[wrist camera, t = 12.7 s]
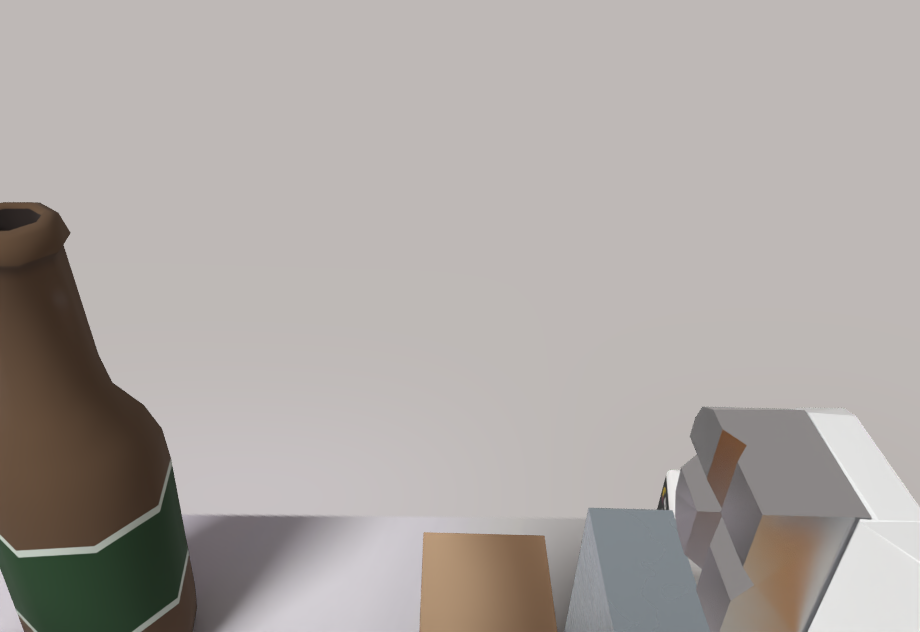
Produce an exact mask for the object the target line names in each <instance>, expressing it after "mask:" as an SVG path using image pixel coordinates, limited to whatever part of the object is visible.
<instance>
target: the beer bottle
mask: <svg viewBox="0 0 920 632" xmlns="http://www.w3.org/2000/svg"><path fill="white" fill-rule="evenodd" d="M69 235H70V231H69V230H68V228H67V226H66V225H65V223H64V222H63V220H62V218H61V217H60V215H59V213H57V212H56V211H54V210H52V209H50V208H48V207H47V206H45V205H43V204H41V203H32V202H26V203H25V202H22V203H21V202H20V203H19V202H17V203H16V202H13V203H11V202H9V203H8V202H7V203H6V202H3V203H0V569H1V572H2V574H3V577H4V579H5V582H6V585H7V587H8V590H9V593H10V595H11V598H12V600H13V603H14V606H15V608H16V611H17V614H18V616H19V619H20V622H21V624H22V627H23V629H24V632H192V631H193V626H194V620H195V614H196V609H197V604H196V593H195V583H194V578H193V573H192V568H191V562H190V557H189V552H188V546H187V541H186V536H185V531H184V525H183V520H182V515H181V509H180V504H179V499H178V494H177V488H176V483H175V478H174V472H173V467H172V462H171V457H170V454H169V450H168V448H167V444H166V441H165V437H164V434H163V431H162V428H161V427H160V426H159V424H158V423H157V422H156V420H155V419H154V418H153V417H152V415H151V414H150V413H149V411H148V410H147V409H146V408H145V406H144V405H143V404H142V403H140V402H139V401H137V400H136V399H134V398H133V397H132V396H130V395H129V394H127V393H126V392H125V391H123V390H122V389H120V388H119V387H118V386H116V385H115V384H113V383H112V381H111V379H110V377H109V375H108V373H107V371H106V369H105V367H104V365H103V363H102V361H101V359H100V357H99V355H98V352H97V349H96V346H95V343H94V339H93V336H92V333H91V330H90V327H89V324H88V321H87V318H86V314H85V311H84V308H83V305H82V302H81V299H80V296H79V292H78V290H77V286H76V283H75V280H74V277H73V274H72V270H71V268H70V265H69V262H68V258H67V255H66V252H65V249H64V246H63V244H64V243H65V241H66V239H67V238H68V236H69Z"/></svg>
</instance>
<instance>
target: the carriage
mask: <svg viewBox="0 0 920 632" xmlns="http://www.w3.org/2000/svg"><path fill="white" fill-rule="evenodd" d="M419 632H557V626H556V618H555V611H554V604H553V596H552V589H551V581H550V574H549V567H548V559H547V552H546V544H545V537H544V536H536V535H499V534H462V533H426V532H424V536H423V560H422V584H421V607H420V631H419Z"/></svg>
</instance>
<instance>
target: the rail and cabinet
mask: <svg viewBox="0 0 920 632" xmlns="http://www.w3.org/2000/svg"><path fill="white" fill-rule="evenodd" d="M696 587H697V584H696V581H695V578H694V575H693V572H692V569H691V566H690V563H689V560H688V557H687V556H686V555H685V554H684V552H683V549H682V545H681V542H680V539H679V536H678V531H677V525H676V520H675V517H674V513H673V510H645V509H610V508H589V509H588V513H587V519H586V524H585V529H584V534H583V539H582V544H581V549H580V554H579V559H578V564H577V569H576V575H575V580H574V585H573V590H572V595H571V600H570V605H569V610H568V615H567V620H566V625H565V630H564V632H710V629H709V626H708V623H707V621H706V618H705V615H704V612H703V609H702V606H701V603H700V600H699V597H698V594H697V591H696Z"/></svg>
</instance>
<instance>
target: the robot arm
mask: <svg viewBox="0 0 920 632" xmlns="http://www.w3.org/2000/svg"><path fill="white" fill-rule="evenodd" d="M690 438H691V440H692V443H693V445H694V448H695V450H696V453H697V455H696V456H695V457H693V458H692V459H691V460H690V461H688V462H687V463H686V464H685V465H684V466H683V467H681V470H680V474H679V479H678V483H677V487H676V494H675V518H676V525H677V531H678V536H679V539H680V542H681V545H682V549H683V552H684V554H685V555H686V556H687V557H688V558H689V559H690V560H692V561H693V562H694V563H695V564H696V565H697V566H698V567H700V568H701V569H702V571H701V574H700V577H699V581H698V584H697V587H696V591H697V594H698V597H699V600H700V603H701V606H702V609H703V612H704V615H705V618H706V621H707V623H708V626H709V629H710V632H920V507H919V505H918V504H917V502H916V501H915V499H914V498H913V497H912V495H911V494H910V492H909V491H908V490H907V488H906V487H905V485H904V484H903V482H902V481H901V480H900V478H899V477H898V475H897V474H896V473H895V471H894V470H893V468H892V467H891V465H890V464H889V463H888V461H887V460H886V458H885V457H884V455H883V454H882V453H881V451H880V450H879V448H878V447H877V445H876V444H875V443H874V441H873V440H872V438H871V437H870V435H869V434H868V433H867V431H866V430H865V428H864V427H863V426H862V424H861V423H860V421H859V420H858V418H857V417H856V416H855V415H854V414H853V413H851V412H849V411H848V410H846V409H844V408H796V409H769V408H766V409H765V408H732V407H702V408H701V410H700V411H699V413H698V415H697V416H696V417H695V421H694V424H693V428H692V431H691V435H690Z"/></svg>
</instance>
